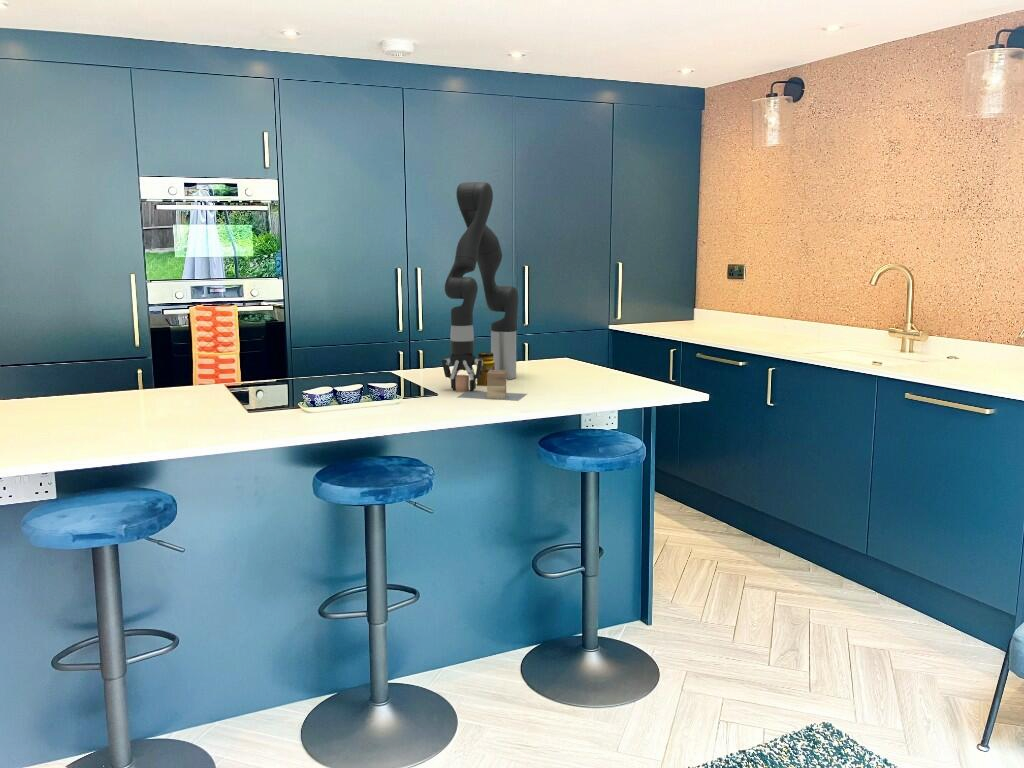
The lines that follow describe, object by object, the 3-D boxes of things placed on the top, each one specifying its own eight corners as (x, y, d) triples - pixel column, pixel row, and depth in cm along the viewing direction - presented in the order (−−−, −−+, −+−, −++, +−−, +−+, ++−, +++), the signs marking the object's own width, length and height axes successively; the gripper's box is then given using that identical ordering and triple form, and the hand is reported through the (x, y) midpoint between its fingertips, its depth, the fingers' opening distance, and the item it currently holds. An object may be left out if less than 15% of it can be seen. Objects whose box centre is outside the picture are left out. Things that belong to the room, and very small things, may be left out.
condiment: (496, 389, 283) (496, 354, 281) (471, 390, 282) (471, 354, 280) (494, 385, 290) (494, 351, 288) (469, 386, 289) (469, 351, 287)
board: (468, 394, 274) (468, 390, 273) (527, 397, 268) (527, 393, 268) (456, 401, 262) (456, 397, 262) (518, 404, 257) (518, 400, 257)
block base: (489, 395, 266) (489, 382, 265) (506, 395, 265) (506, 383, 265) (487, 398, 260) (487, 385, 260) (504, 398, 260) (504, 386, 259)
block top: (489, 382, 265) (489, 370, 264) (506, 383, 265) (506, 370, 264) (487, 385, 260) (487, 373, 259) (504, 386, 259) (504, 373, 258)
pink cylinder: (457, 392, 277) (457, 374, 276) (470, 393, 276) (470, 375, 275) (453, 394, 273) (453, 376, 272) (466, 395, 272) (466, 377, 271)
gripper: (486, 338, 273) (487, 389, 276) (445, 337, 277) (446, 388, 279) (480, 340, 266) (480, 393, 268) (437, 339, 269) (438, 391, 272)
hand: (463, 390), depth 274 cm, fingers open, 5 cm apart
